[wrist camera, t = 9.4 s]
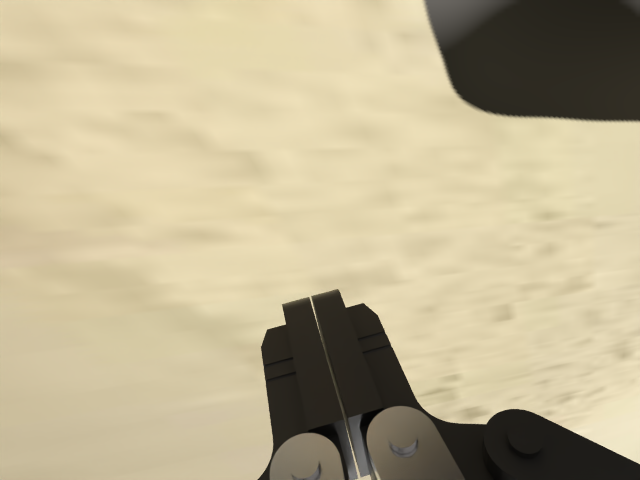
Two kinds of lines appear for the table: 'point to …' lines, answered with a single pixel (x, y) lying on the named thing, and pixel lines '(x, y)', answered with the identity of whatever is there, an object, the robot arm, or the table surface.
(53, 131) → the table surface
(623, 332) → the table surface
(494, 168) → the table surface
